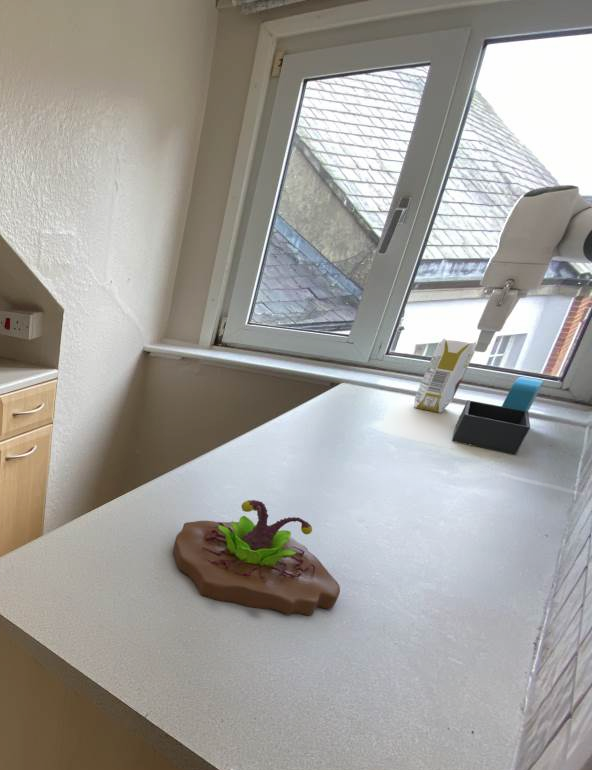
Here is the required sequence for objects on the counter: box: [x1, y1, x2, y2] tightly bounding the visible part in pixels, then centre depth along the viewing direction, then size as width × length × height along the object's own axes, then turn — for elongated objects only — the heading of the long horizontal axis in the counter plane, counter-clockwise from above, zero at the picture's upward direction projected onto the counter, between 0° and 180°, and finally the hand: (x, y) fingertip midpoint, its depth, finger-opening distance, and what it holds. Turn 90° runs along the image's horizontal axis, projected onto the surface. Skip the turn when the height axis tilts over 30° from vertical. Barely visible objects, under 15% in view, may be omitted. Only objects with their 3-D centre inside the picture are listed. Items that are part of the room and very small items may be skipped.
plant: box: [172, 499, 341, 616], centre depth 76 cm, size 20×20×11 cm
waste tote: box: [451, 400, 531, 456], centre depth 130 cm, size 11×16×7 cm
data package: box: [501, 376, 545, 412], centre depth 138 cm, size 12×4×12 cm, turn 130°
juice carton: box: [413, 335, 478, 414], centre depth 148 cm, size 8×9×19 cm
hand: (481, 348), depth 114 cm, fingers open, 8 cm apart
